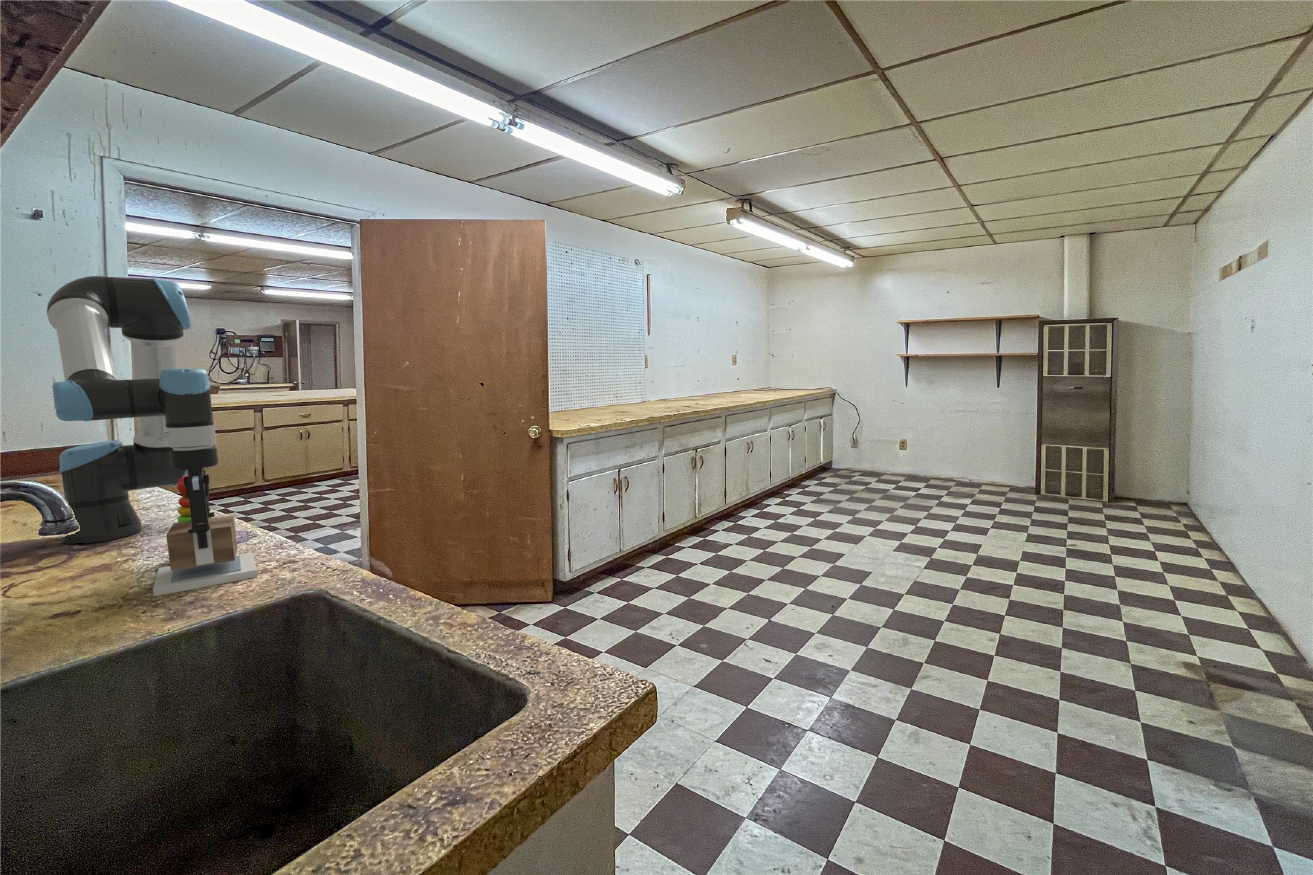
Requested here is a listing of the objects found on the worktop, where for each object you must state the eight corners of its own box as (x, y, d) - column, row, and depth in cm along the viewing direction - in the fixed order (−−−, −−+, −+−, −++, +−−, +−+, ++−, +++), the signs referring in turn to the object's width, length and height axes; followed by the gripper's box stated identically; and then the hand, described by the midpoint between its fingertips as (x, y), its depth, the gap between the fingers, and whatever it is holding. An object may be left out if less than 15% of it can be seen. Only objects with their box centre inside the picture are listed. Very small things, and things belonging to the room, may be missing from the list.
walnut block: (177, 556, 123) (173, 523, 122) (237, 547, 128) (233, 515, 127) (170, 570, 114) (166, 534, 113) (234, 560, 119) (230, 526, 118)
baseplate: (160, 574, 123) (158, 566, 122) (254, 558, 132) (253, 551, 132) (153, 596, 111) (152, 587, 111) (257, 576, 121) (256, 568, 120)
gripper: (172, 443, 125) (185, 546, 128) (163, 456, 107) (179, 576, 110) (216, 439, 129) (228, 539, 132) (216, 452, 111) (229, 567, 114)
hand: (205, 556), depth 121 cm, fingers closed on walnut block, 10 cm apart
